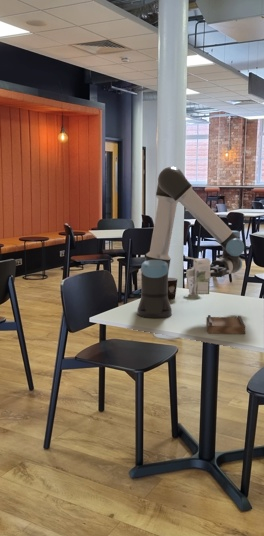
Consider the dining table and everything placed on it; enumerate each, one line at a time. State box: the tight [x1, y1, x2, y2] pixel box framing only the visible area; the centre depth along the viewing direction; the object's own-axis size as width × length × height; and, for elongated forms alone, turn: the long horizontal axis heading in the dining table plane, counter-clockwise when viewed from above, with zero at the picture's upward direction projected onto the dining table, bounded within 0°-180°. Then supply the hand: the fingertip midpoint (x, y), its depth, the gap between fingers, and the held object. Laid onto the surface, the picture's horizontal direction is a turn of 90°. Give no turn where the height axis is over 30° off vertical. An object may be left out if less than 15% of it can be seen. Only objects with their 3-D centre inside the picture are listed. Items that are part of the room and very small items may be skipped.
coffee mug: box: [168, 277, 178, 301], centre depth 266 cm, size 12×9×10 cm
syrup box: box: [193, 257, 211, 295], centre depth 219 cm, size 6×6×14 cm
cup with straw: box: [184, 256, 199, 296], centre depth 276 cm, size 8×9×20 cm
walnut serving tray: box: [205, 314, 246, 335], centre depth 209 cm, size 14×14×4 cm
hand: (196, 274), depth 215 cm, fingers closed on syrup box, 8 cm apart
